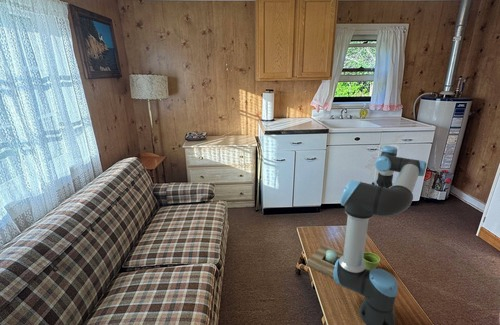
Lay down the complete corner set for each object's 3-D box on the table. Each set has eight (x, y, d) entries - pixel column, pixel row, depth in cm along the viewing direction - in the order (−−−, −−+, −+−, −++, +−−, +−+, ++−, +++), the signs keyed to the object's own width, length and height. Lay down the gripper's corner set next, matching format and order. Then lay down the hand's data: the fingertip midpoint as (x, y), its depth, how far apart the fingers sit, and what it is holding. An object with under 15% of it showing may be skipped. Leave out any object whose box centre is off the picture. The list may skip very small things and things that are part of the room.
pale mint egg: (333, 265, 153) (334, 257, 151) (323, 260, 156) (324, 253, 155) (337, 259, 157) (338, 252, 155) (328, 255, 161) (328, 248, 159)
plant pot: (379, 276, 148) (382, 263, 145) (361, 274, 150) (363, 261, 147) (375, 265, 156) (377, 253, 154) (358, 263, 158) (360, 251, 155)
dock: (339, 282, 144) (340, 276, 143) (306, 265, 157) (307, 260, 155) (353, 262, 159) (354, 257, 157) (322, 249, 171) (322, 244, 170)
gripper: (400, 174, 148) (393, 211, 156) (376, 168, 156) (371, 204, 164) (396, 178, 143) (389, 216, 151) (371, 172, 151) (366, 208, 159)
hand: (379, 210), depth 158 cm, fingers closed
